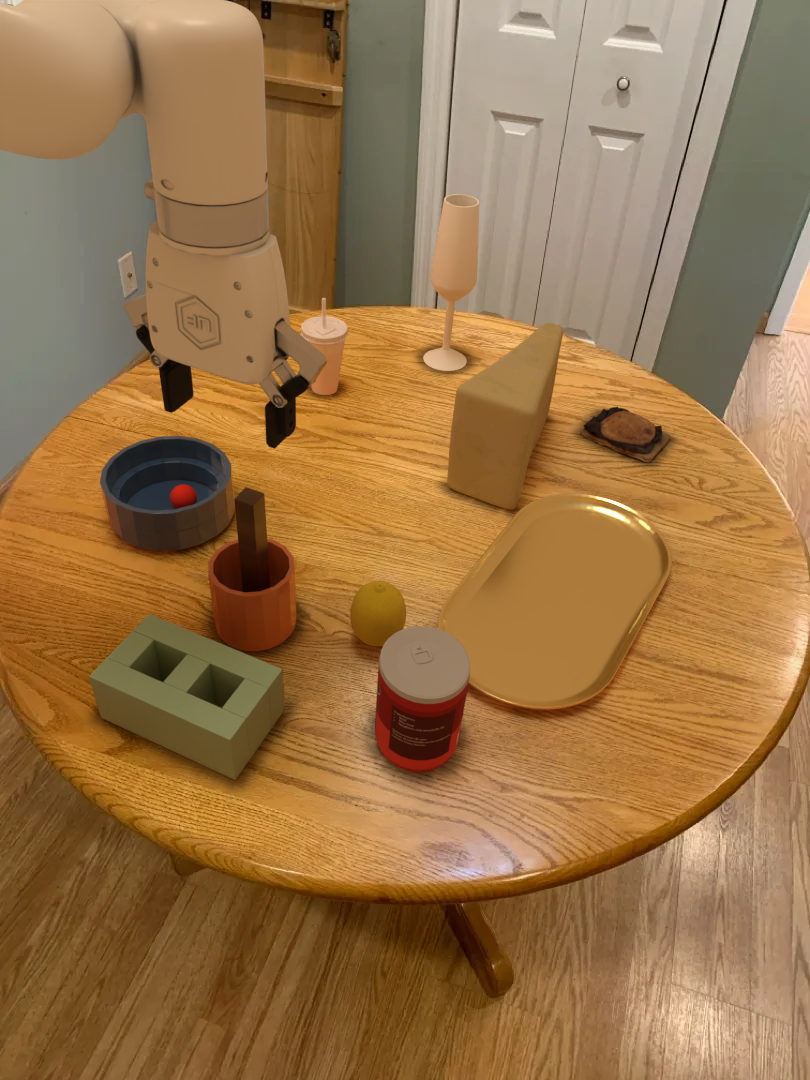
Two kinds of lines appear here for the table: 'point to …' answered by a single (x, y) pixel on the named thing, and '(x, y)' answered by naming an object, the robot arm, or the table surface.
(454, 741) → the canned food
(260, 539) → the stick
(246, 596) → the crock
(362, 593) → the lemon
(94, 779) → the table surface
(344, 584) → the table surface
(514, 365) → the cheese
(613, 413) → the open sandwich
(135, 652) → the cinder block
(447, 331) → the champagne flute
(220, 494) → the bowl
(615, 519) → the serving platter
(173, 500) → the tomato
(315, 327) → the smoothie
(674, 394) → the table surface
